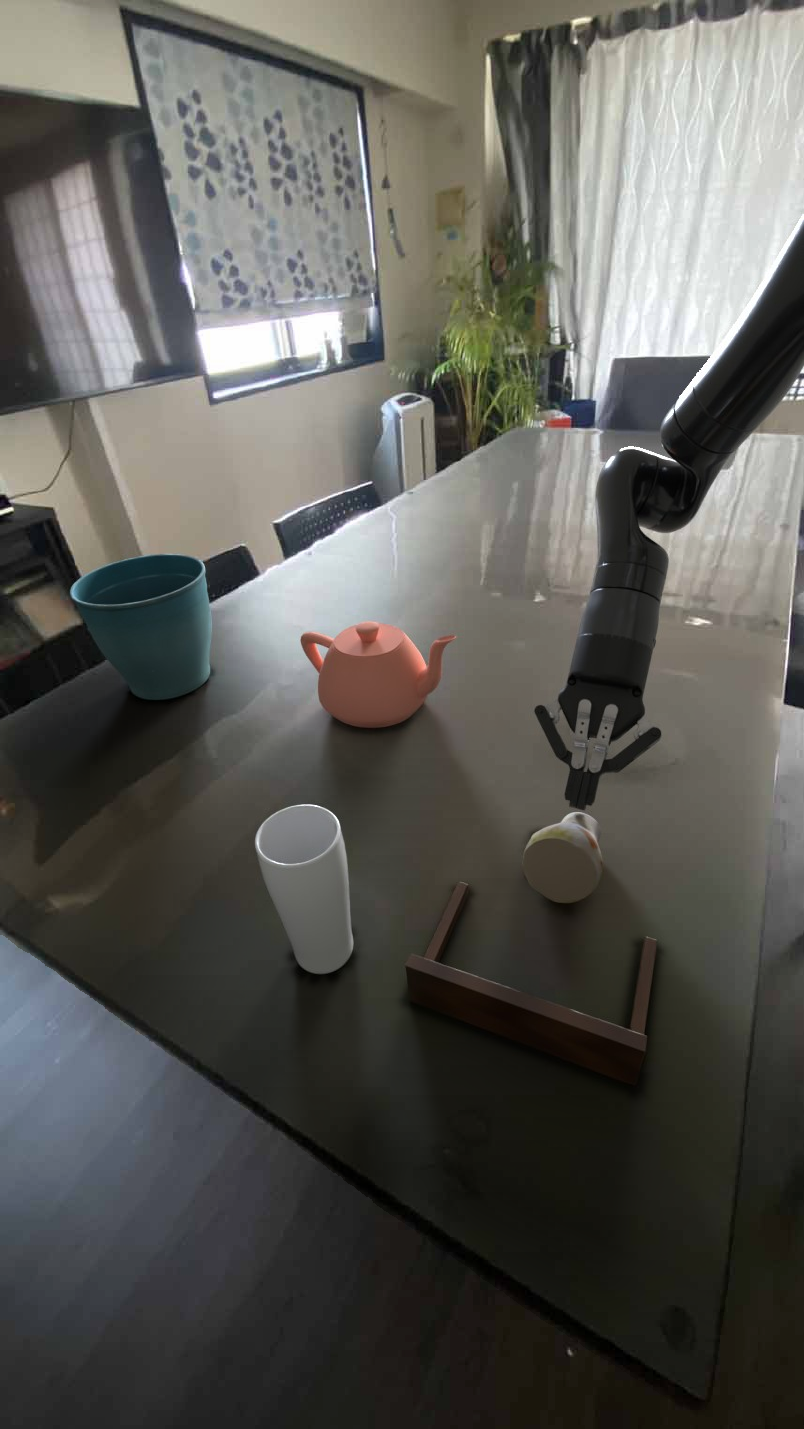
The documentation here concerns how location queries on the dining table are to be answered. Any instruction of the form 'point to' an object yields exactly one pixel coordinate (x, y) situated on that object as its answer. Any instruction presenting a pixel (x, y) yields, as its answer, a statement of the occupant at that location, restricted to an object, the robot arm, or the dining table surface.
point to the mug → (565, 859)
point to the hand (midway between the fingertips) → (577, 808)
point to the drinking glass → (308, 884)
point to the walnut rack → (531, 1008)
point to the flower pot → (150, 621)
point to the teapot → (373, 673)
